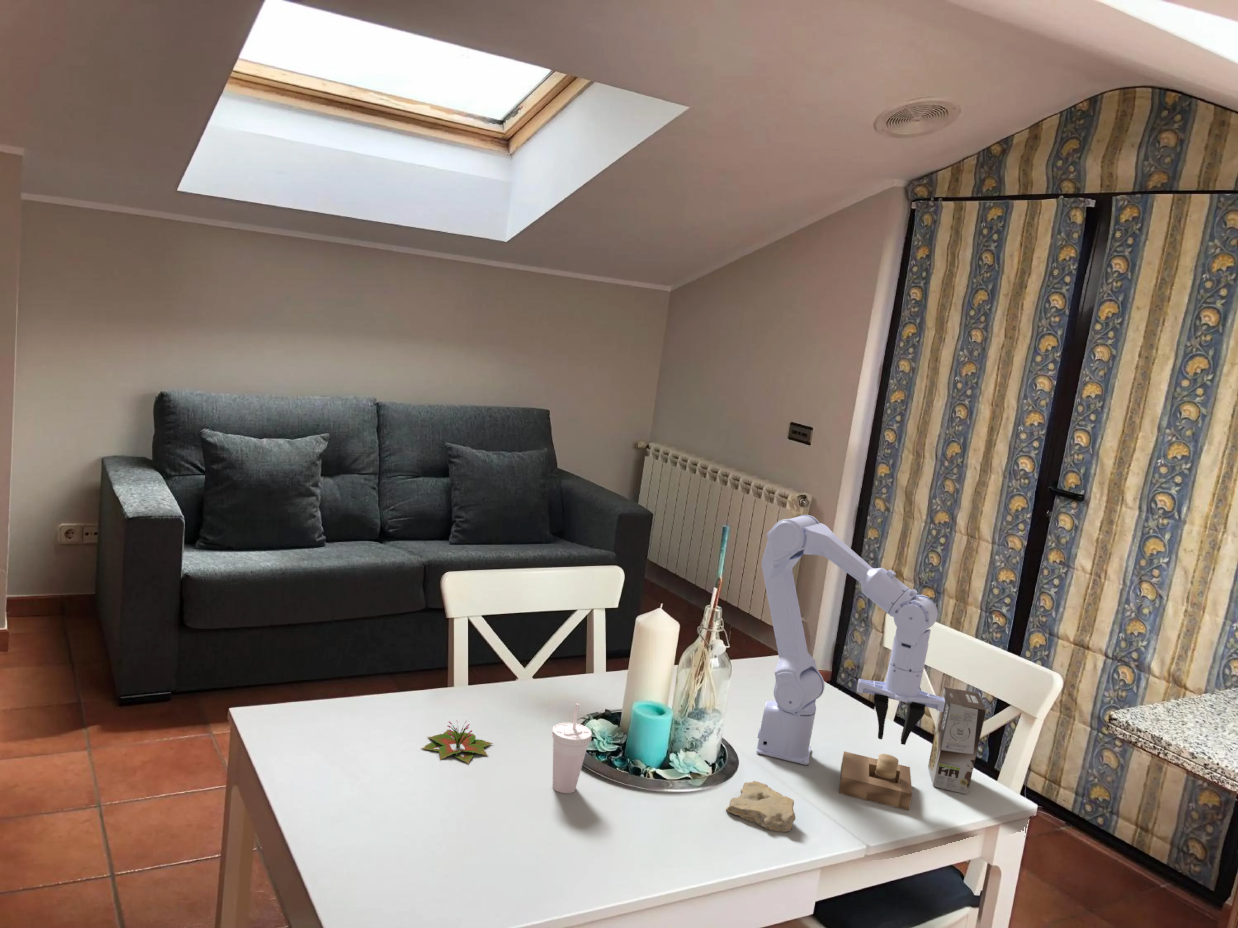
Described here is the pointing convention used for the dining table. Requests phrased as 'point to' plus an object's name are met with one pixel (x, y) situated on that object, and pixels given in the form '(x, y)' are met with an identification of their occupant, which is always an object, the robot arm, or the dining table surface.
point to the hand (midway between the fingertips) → (891, 739)
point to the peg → (886, 768)
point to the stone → (763, 807)
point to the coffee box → (956, 740)
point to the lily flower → (457, 744)
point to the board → (874, 782)
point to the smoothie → (569, 753)
